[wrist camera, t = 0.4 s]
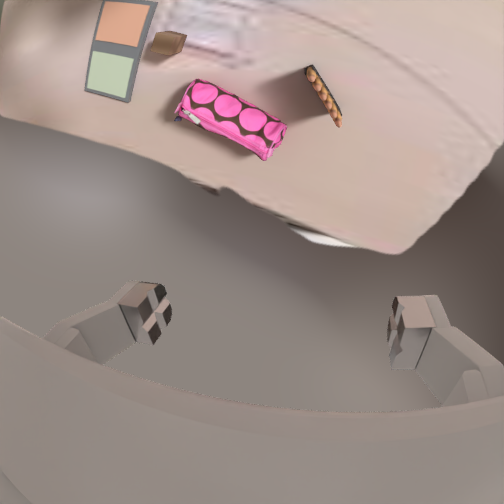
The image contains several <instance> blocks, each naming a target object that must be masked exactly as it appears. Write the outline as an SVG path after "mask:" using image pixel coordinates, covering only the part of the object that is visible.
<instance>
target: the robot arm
mask: <svg viewBox="0 0 504 504" xmlns="http://www.w3.org/2000/svg"><path fill="white" fill-rule="evenodd" d="M166 295H167V292H166V289H165V287H164V286H163V285H162V284H158V283H150V282H140V281H133V280H132V281H128V282H127V283H126V284H125V285H124V286H123V287H122V288H121V289H120V290H119V291H118V292H117V293H115V294H114V296H112V297H111V298H110V300H108V301H107V302H102V303H100V304H98V305H96V306H93V307H91V308H89V309H86V310H84V311H82V312H80V313H78V314H75V315H73V316H70V317H68V318H66V319H64V320H61V321H59V322H58V323H57V324H56V325H55V326H54V327H53V328H52V329H51V330H50V331H49V332H48V333H47V334H46V335H45V336H44V337H43V338H40V337H38V336H36V335H34V334H32V333H30V332H29V331H27V330H25V329H23V328H21V327H19V326H18V325H16V324H14V323H12V322H10V321H9V320H7V319H6V318H4V317H2V316H0V504H504V367H503V365H502V363H500V362H499V361H498V360H497V359H495V358H494V357H493V356H491V354H489V353H488V352H487V351H486V350H484V349H483V348H482V347H481V346H479V345H478V344H477V343H475V342H474V341H473V340H472V339H470V338H469V337H468V336H466V335H465V334H464V333H463V332H461V331H460V330H459V329H457V328H456V327H451V326H450V323H449V320H448V318H447V316H446V313H445V311H444V309H443V307H442V304H441V302H440V300H439V298H438V296H436V295H425V296H395V297H394V300H393V303H392V310H393V314H392V315H391V316H390V317H389V321H388V327H387V342H388V345H389V346H390V347H391V351H390V354H389V356H390V364H391V370H415V371H416V373H417V374H418V375H419V376H420V378H421V379H422V380H423V382H424V383H425V384H426V385H427V387H428V388H429V389H430V390H431V392H432V393H433V394H434V396H435V397H436V398H437V400H438V401H439V402H440V403H441V405H442V407H438V408H430V409H419V410H407V411H390V412H329V411H313V410H300V409H288V408H279V407H271V406H264V405H257V404H250V403H244V402H238V401H232V400H227V399H221V398H216V397H211V396H207V395H202V394H198V393H193V392H189V391H185V390H181V389H177V388H173V387H169V386H166V385H163V384H159V383H156V382H152V381H149V380H146V379H142V378H139V377H136V376H132V375H130V374H127V373H124V372H121V371H118V370H115V369H113V368H110V367H107V366H104V365H103V364H105V363H106V362H108V361H109V360H111V359H112V358H114V357H115V356H117V355H118V354H120V353H121V352H123V351H124V350H126V349H127V348H129V347H130V346H132V345H133V344H135V343H136V342H139V343H144V344H148V345H154V344H155V342H156V341H157V340H158V338H159V337H160V335H161V329H163V328H165V327H166V326H167V325H168V323H169V322H170V320H171V316H172V308H171V305H170V303H169V301H168V300H167V299H166V298H165V297H166Z"/></svg>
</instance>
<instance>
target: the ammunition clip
mask: <svg viewBox="0 0 504 504" xmlns="http://www.w3.org/2000/svg"><path fill="white" fill-rule="evenodd" d="M305 74H306V76H307V78H308V80H309V81H310V82H311V83H312V86H313V88H314V89H315V90H316V91H317V93H318V96H319V97H320V99H321V100H322V101H323V104H324V105H325V107H326V108H327V109H328V112H329V113H330V115H331V117H332V118H333V121H334V122H335V124H336V126H337V127H341V125H342V121H341V120H342V117H341V116H342V114H341V111H340V108H339V106H338V104H337V103H336V101H335V99H334V98H333V96H332V94H331V93H330V91H329V89H328V88H327V86H326V84H325V83H324V81H323V80H322V78H321V76H320V75H319V73H318V72H317V70H316V69H315V67H314V66H313V65H311V66H309V67H307V68H305Z"/></svg>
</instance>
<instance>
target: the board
mask: <svg viewBox="0 0 504 504" xmlns="http://www.w3.org/2000/svg"><path fill="white" fill-rule="evenodd" d="M157 4H158V2H153V1H145V0H103V3H102V6H101V10H100V13H99V17H98V21H97V25H96V29H95V33H94V37H93V42H92V47H91V52H90V57H89V63H88V69H87V76H86V83H85V91H89V92H93V93H96V94H100V95H104V96H107V97H111V98H114V99H118V100H121V101H125V102H130V101H131V96H132V91H133V86H134V82H135V78H136V73H137V69H138V65H139V61H140V58H141V54H142V50H143V47H144V43H145V40H146V37H147V33H148V30H149V27H150V24H151V21H152V18H153V15H154V12H155V9H156V7H157Z"/></svg>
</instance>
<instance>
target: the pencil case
mask: <svg viewBox="0 0 504 504" xmlns="http://www.w3.org/2000/svg"><path fill="white" fill-rule="evenodd" d="M177 111H178V115H179V116H177V117H176V119H175V120H174V121H181V119H182V118H185V119H187V120H189V121H191V122H192V123H194V124H195V125H197V126H199V127H201V128H203V129H205V130H207V131H211V132H214V133H217V134H219V135H222V136H224V137H226V138H229V139H231V140H233V141H235V142H237V143H239V144H241V145H242V146H244V147H246V148H247V149H249V150H250V151H252V152H253V153H255V154H256V155H257V156H258V157H259V158H260V159H261V160H263V161H266V160H267V158H269V157H270V156H272V154H273V151H274V149H275V148H277V147H278V146H279V145H280V144H281V142H282V140H283V137H284V134H285V131H286V129H287V126H286V124H284V123H282V122H281V121H280V120H279V119H277V118H275V117H273V116H271V115H269V114H268V113H266V112H265V111H263V110H261V109H259V108H258V107H256V106H255V105H253V104H251V103H248V102H247V101H245V100H243V99H241V98H239V97H238V96H236V95H235V94H232V93H230V92H228V91H226V90H224V89H222V88H220V87H218V86H216V85H214V84H212V83H210V82H208V81H203V80H201V79H195V80H194V81H193V82H192V83H191V84H190V85H189V87H188V88H187V90H186V92H185V94H184V96H183V98H182V100H181V103H180V104H179V105H178V106H177V108H176V110H175V112H174V113H176V112H177Z"/></svg>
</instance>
